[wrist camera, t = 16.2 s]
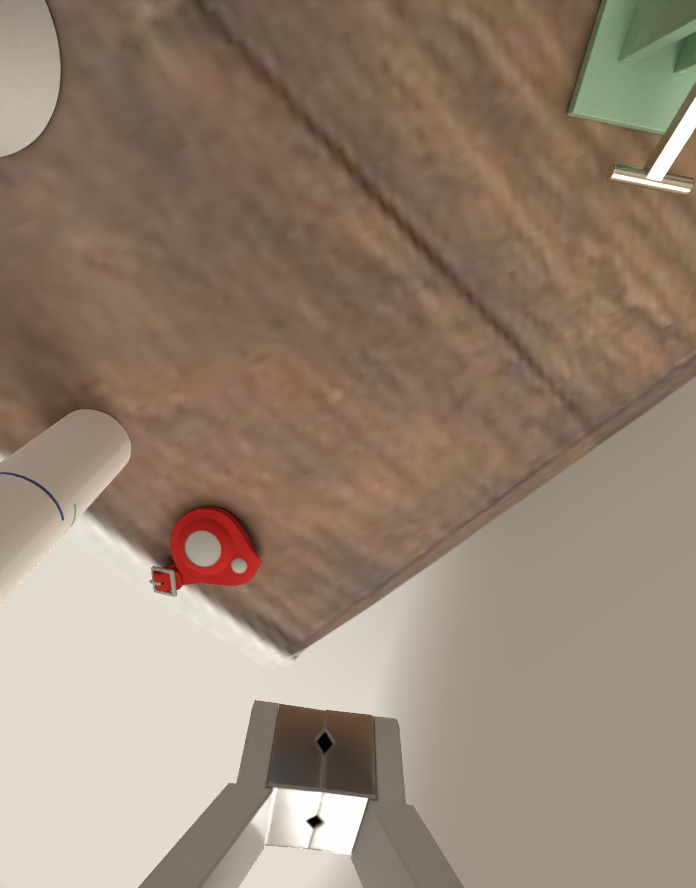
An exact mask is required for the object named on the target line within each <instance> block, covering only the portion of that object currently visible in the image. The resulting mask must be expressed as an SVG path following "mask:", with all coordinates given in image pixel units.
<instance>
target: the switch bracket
mask: <svg viewBox="0 0 696 888" xmlns="http://www.w3.org/2000/svg"><path fill="white" fill-rule="evenodd" d="M695 82H696V0H602V1H601V4H600V7H599V11H598V14H597V17H596V20H595V24H594V27H593V30H592V34H591V37H590V40H589V43H588V47H587V50H586V53H585V57H584V60H583V63H582V66H581V70H580V73H579V76H578V80H577V83H576V86H575V89H574V93H573V96H572V99H571V103H570V106H569V109H568V113H567V115H568V116H573V117H578V118H583V119H588V120H592V121H597V122H602V123H607V124H612V125H617V126H621V127H626V128H631V129H636V130H641V131H646V132H650V133H655V134H660V135H664V133H665V132H666V130H667V128H668V127H669V125H670V123H671V122H672V120H673V118H674V117H675V115H676V113H677V112H678V110H679V108H680V107H681V105H682V103H683V102H684V100H685V98H686V97H687V95H688V93H689V92H690V90H691V88H692V87H693V85H694V83H695ZM691 136H692V134H691ZM691 136H690V137H691Z"/></svg>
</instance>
